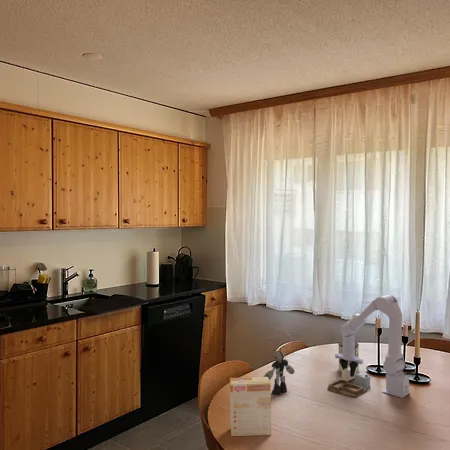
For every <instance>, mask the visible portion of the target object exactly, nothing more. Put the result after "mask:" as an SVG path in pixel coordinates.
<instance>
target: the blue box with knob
mask: <svg viewBox="0 0 450 450" xmlns="http://www.w3.org/2000/svg"><path fill="white" fill-rule="evenodd" d="M353 379H354V385H357V386H360V387H363V388H365V389H368V388H370V387H371V376H369V374H368V373H365V374H363V373H359V372H357V373H356V375H354V378H353Z"/></svg>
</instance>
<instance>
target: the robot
mask: <svg viewBox="0 0 450 450" xmlns="http://www.w3.org/2000/svg"><path fill="white" fill-rule="evenodd" d="M273 352H274V362H273V363H272V364H271V368H272V369H271V370H268V371H267V372H265V374H264V375H263V377H268V378H269V381H271V379H272V378H273V377H274V374H275V378H274V385H273V389H272V390H271V394H272V395H274V396H281V394H286V393H287V392H288V388H287V384H286V376H285V375H284V370H285V371H286V372H287V373H288V374H290V375H293V374H295V369H294V367H293V366H292V365H290V364H289V361H288V360H287V359H284V358H285V357H286V355H285V353H283V351H282V348H281V347H280V348H279V350H278V351H276V350H275V349H273ZM274 372H275V373H274ZM279 383H280V384H279Z"/></svg>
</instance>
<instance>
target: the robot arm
mask: <svg viewBox="0 0 450 450" xmlns="http://www.w3.org/2000/svg"><path fill="white" fill-rule="evenodd" d="M376 311H379V312H381V313H383V314H385V315H386V316H387V317H388V320H389V321H388V323H389V324H388V345H387V347H388V348H387V349H388V351H387V353H386V355H385V361H384V362H383V364H382V367H383V368H382V369H383V371H384V372H385V386H386V387H385V389H384V390H382V393H384V394H388V395H391V396H394V397H396V398H397V397H398V398H405V397H406V396H407V395H409V394H410V379H409V376H407V375H405V374H404V372H403V371H404V369H405V368H406V362H405V359H404V354H403V353H402V334H403V333H402V328H403V313H402V311H401V308H400V305H399V301H398V299H397V298H396V297H395V296H394V295H393V294H386V295H382V296H378V297H376V298H375V299H374V300H372V301H371V302H370V303H369V304H368V306H366V308H364V309H363V311H361V312H360V313H356V314H353V315H352V317H351V318H350V319H349V320H347V321H346V323H345V324H342V325H341V326H340V329H339V331H340V334H341V335H342V341H343V354H339V352H338V353H335V354H334V358H335V359H338V364H339V363H340V364H341V366H342V369H343V370H344V369H346V368H348V361H351V363H349V365H350V374H351V377H353V376H354V374H355V370H356V368H357V366H358V364H359V365H363V364H364V359H362V358H357V357H355V342H356V341H355V337H356V334H357V332H358V330H359V329H360V328H361V327H362V326H363V325H365V324H366V319H367V318H368V317H370V316H371V315H372V314H373V313H374V312H376ZM339 359H340V361H339Z"/></svg>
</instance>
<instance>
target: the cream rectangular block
mask: <svg viewBox="0 0 450 450" xmlns="http://www.w3.org/2000/svg"><path fill="white" fill-rule="evenodd" d="M356 374H357V373H356V370H355V374H354V375H356ZM341 379H342V380H345V381H348V382H350V380H351V381H352V380H353V379H354V376H353V377H351V374H350V367H348V368H346V369H344V370H342V372H341Z"/></svg>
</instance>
